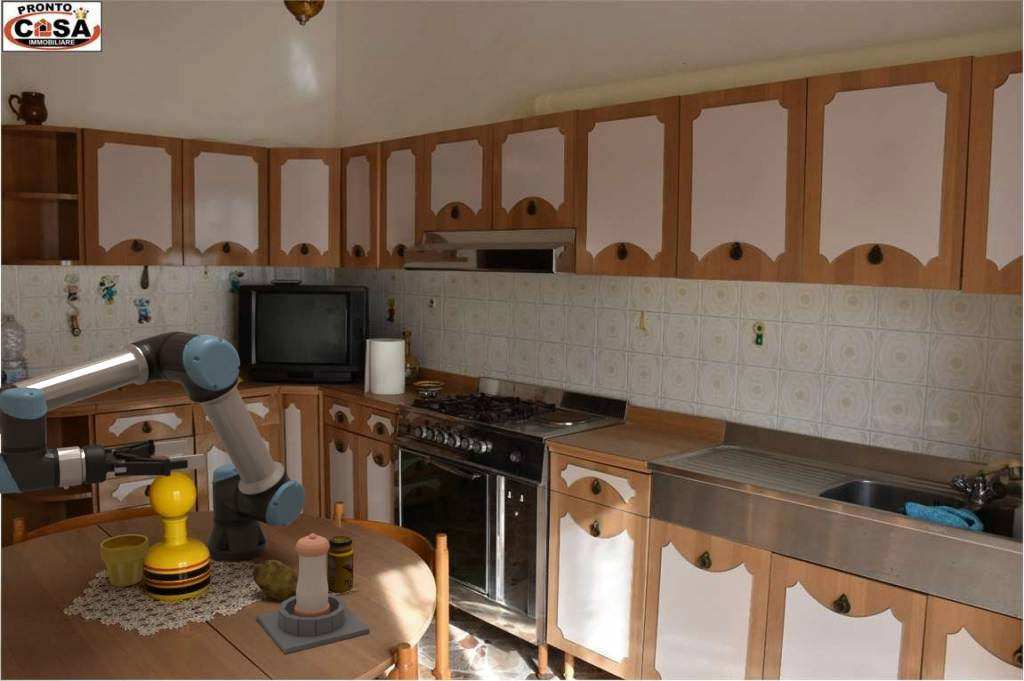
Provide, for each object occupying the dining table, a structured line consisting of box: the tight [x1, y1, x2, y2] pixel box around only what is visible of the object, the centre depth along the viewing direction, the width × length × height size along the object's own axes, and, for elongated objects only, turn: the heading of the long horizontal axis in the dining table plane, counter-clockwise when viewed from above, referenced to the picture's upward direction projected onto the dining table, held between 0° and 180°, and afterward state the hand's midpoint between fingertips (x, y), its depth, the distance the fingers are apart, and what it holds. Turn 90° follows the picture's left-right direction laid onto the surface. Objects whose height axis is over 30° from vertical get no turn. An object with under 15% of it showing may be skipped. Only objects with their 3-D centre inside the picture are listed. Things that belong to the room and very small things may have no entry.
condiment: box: [326, 535, 355, 596], centre depth 199 cm, size 7×8×12 cm
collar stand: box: [256, 594, 370, 655], centre depth 180 cm, size 18×18×4 cm
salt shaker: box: [294, 533, 330, 617], centre depth 179 cm, size 7×7×19 cm
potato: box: [252, 559, 299, 601], centre depth 194 cm, size 8×13×8 cm, turn 59°
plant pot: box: [99, 533, 150, 588], centre depth 200 cm, size 10×10×10 cm
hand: (195, 453), depth 178 cm, fingers open, 13 cm apart
